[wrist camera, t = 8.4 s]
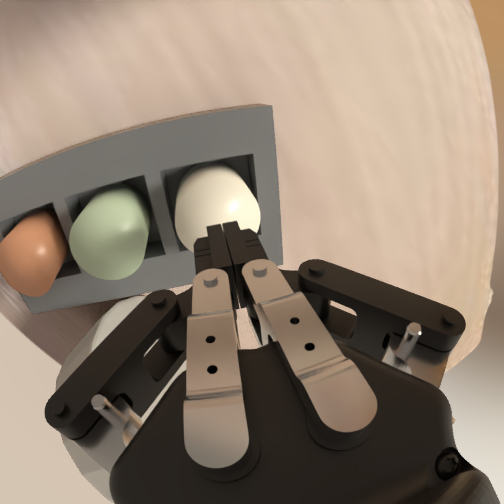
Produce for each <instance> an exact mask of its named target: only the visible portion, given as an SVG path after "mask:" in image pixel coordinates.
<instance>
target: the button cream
mask: <svg viewBox="0 0 504 504" xmlns="http://www.w3.org/2000/svg"><path fill="white" fill-rule="evenodd" d="M231 221H237V222H238V225H239V227H240V230H243V229H248V228H250V229H251V230H253V231H254V232H256V233H257V231H258V229H259V225H260V209H259V206H258V203H257V201H256V199H255V197H254V196H253V194H252V193H251V191H250V190H249V188H248V187H247V185H246V184H245V182H244V181H243V179H242V178H241V176H240V175H239V173H238V172H237V171H236V170H235V169H233V168H232V167H230V166H229V165H226V164H224V163H220V162H204V163H201V164H198V165H196V166H194V167H192V168H191V169H190V170H188V171H187V172H186V173H185V174H184V176H183V177H182V178H181V180H180V182H179V184H178V188H177V193H176V210H175V227H176V232H177V235H178V237H179V239H180V241H181V242H182V243H183V245H184V246H185V247H186V248H187V249H189V250H190V251H191V252H193V253H194V247H193V245H194V243H195V241H196V240H197V238H202V237H207V236H208V235H207V229H206V226H210V225H216V224H221V226H222V223H226V222H231ZM222 230H223V228H222Z"/></svg>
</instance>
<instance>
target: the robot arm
mask: <svg viewBox="0 0 504 504" xmlns="http://www.w3.org/2000/svg"><path fill="white" fill-rule="evenodd" d="M222 228H223V230H222ZM206 229H207V235H208V236H207V237H202V238H197V240H196V241H195V243H194V245H193V247H194V259H195V271H196V276H195V278H194V280H193V286H192V287H191V288H189V289H188V290H186V291H185V292H183V293H180V294H178V295H176V294H175V293H174V292H172V291H170V290H166V289H162V290H157V291H154V292H152V293H150V294H149V295H147V296H146V297H145V298H144V299H143V300H142V301H141V302H140V303H139V304H138V305H137V306H136V307H135V308H134V309H133V310H132V311H131V312H130V313H129V314H128V315H127V316H126V317H125V318H124V319H123V320H122V321H121V322H120V323H119V324H118V326H117V327H116V328H115V329H114V330H113V331H112V332H111V333H110V334H109V335H108V336H107V337H106V338H105V339H104V340H103V341H102V342H101V343H100V344H99V345H98V346H97V347H96V348H95V349H94V351H93V352H92V353H91V354H90V355H89V356H88V357H87V358H86V359H85V360H84V361H83V362H82V363H81V364H80V365H79V367H78V368H77V369H76V370H75V371H74V372H73V373H72V374H71V375H70V376H69V377H68V379H67V380H66V381H65V382H64V383H63V384H62V385H61V386H60V387H59V389H58V390H57V391H56V392H55V393H54V394H53V395H52V396H51V398H50V399H49V400H48V402H47V404H46V406H45V418H46V420H47V422H48V423H49V425H51V426H52V427H53V428H55V429H56V430H57V431H59V432H60V433H61V434H62V435H63V436H64V437H65V438H67V439H68V440H70V441H71V442H73V443H74V444H76V445H77V446H79V447H80V448H82V449H83V450H84V451H85V452H86V453H87V454H88V455H89V456H90V457H91V458H93V459H94V460H95V461H96V462H97V463H98V464H99V465H100V466H102V467H103V468H104V469H105V470H106V471H107V472H109V473H110V477H109V488H110V493H111V497H112V499H113V501H114V503H115V504H500V501H499V499H498V497H497V495H496V493H495V491H494V489H493V486H492V484H491V482H490V480H489V478H488V477H487V476H486V475H485V474H484V473H483V472H481V471H480V470H478V469H477V468H475V467H474V466H472V465H471V464H470V463H469V462H467V461H466V460H465V459H464V458H463V457H462V456H461V455H460V453H459V452H458V450H457V448H456V445H455V441H454V436H453V428H452V411H451V407H450V404H449V401H448V400H447V398H446V396H445V395H444V394H443V392H442V391H441V390H440V389H439V387H440V385H441V381H442V378H443V375H444V372H445V368H446V365H447V361H448V357H449V355H450V353H451V352H452V350H453V349H454V347H455V345H456V344H457V342H458V340H459V339H460V337H461V335H462V334H463V332H464V330H465V327H466V323H465V319H464V317H463V316H462V314H461V313H460V312H458V311H457V310H455V309H453V308H451V307H448V306H446V305H443V304H441V303H438V302H435V301H433V300H430V299H427V298H425V297H422V296H419V295H417V294H414V293H411V292H409V291H406V290H403V289H401V288H398V287H395V286H393V285H390V284H387V283H384V282H382V281H379V280H376V279H374V278H371V277H368V276H365V275H363V274H360V273H357V272H354V271H352V270H349V269H346V268H343V267H341V266H338V265H335V264H332V263H329V262H327V261H324V260H319V259H313V260H308V261H305V262H303V263H302V264H301V265H300V266H299V271H289V270H281V269H278V267H277V265H276V264H275V263H274V262H272V261H270V260H269V259H268V257H267V254H266V252H265V250H264V248H263V246H262V245H261V242H260V240H259V238H258V235H257V233H256V232H254V231H253V230H251V229H250V228H248V229H243V230H240V227H239V225H238V222H237V221H231V222H226V223H222V226H221V224H216V225H210V226H206ZM237 296H238V297H237ZM238 299H239V303H240V307H241V308H245V307H246V308H247V311H248V317H249V322H250V325H251V327H252V330H253V332H254V335H255V337H256V339H257V342H258V344H259V347H260V348H258V349H241V348H240V341H239V334H238V327H237V321H236V320H237V313H236V309H239V303H238ZM331 300H332V301H334V302H337V303H339V304H341V305H344V306H346V307H349V308H351V309H353V310H354V311H355V312H356V314H357V316H355V315H353V314H350V313H348V312H345V311H343V310H341V309H338V308H336V307H333V306H331V305H330V303H331ZM157 339H158V341H157V342H156V343H155V341H156V340H157ZM154 343H155V344H154ZM153 344H154V346H153V347H152V348H151V349H150V350H149V351H148V349H149V348H150V347H151V346H152V345H153ZM147 351H148V353H147V354H146V355H145V353H146V352H147ZM144 355H145V356H144ZM186 359H187V361H186V370H185V371H183V372H182V373H181V374H180V375H178V376H177V378H176V379H175V380H174V381H173V382H172V383H171V385H170V386H169V388H168V389H167V390H166V392H165V393H164V395H163V396H162V398H161V399H160V400H159V402H158V403H157V405H156V406H155V407H154V409H153V410H152V412H151V413H150V414H149V416H148V417H147V419H146V420H145V421H144V423H143V424H142V420H141V418H142V416H143V415H144V414H145V412H146V411H147V410H148V409H149V407H150V406H151V405H152V403H153V402H154V401H155V400H156V398H157V397H158V396H159V394H160V393H161V392H162V390H163V389H164V388H165V387H166V385H167V384H168V383H169V381H170V380H171V379H172V377H173V376H174V375H175V373H176V372H177V371H178V370H179V368H180V367H181V366H182V364H183V363H184V362H185V360H186Z"/></svg>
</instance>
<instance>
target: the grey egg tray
mask: <svg viewBox="0 0 504 504" xmlns="http://www.w3.org/2000/svg"><path fill="white" fill-rule="evenodd" d="M204 162H220V163H224V164H226V165H229V166H230V167H232V168H233V169H235V170H236V171H237V172H238V173H239V175H240V176H241V178H242V179H243V181H244V182H245V184H246V185H247V187H248V188H249V190H250V191H251V193H252V194H253V196H254V197H255V199H256V201H257V203H258V206H259V209H260V225H259V229H258V231H257V235H258V238H259V240H260V242H261V245H262V246H263V248H264V250H265V252H266V254H267V257H268V259H269V260H270V261H272V262H274V263H275V264H276V265H277V266H278V265H283V250H282V232H281V215H280V199H279V184H278V170H277V157H276V145H275V133H274V121H273V110H272V105H265V104H253V105H244V106H236V107H228V108H221V109H215V110H209V111H203V112H197V113H191V114H186V115H181V116H176V117H171V118H167V119H162V120H158V121H154V122H150V123H146V124H142V125H138V126H134V127H130V128H127V129H123V130H120V131H116V132H113V133H109V134H106V135H103V136H100V137H97V138H94V139H91V140H88V141H85V142H82V143H79V144H76V145H74V146H71V147H68V148H65V149H63V150H60V151H58V152H55V153H53V154H50V155H48V156H45V157H43V158H41V159H38V160H36V161H34V162H31V163H29V164H27V165H25V166H23V167H21V168H18V169H16V170H14V171H12V172H10V173H8V174H6V175H4V176H2V177H0V243H1V242H2V241H3V240H4V238H5V237H6V236H7V235H8V234H9V233H10V232H11V231H12V230H13V229H14V227H15V226H16V225H17V224H18V223H19V222H20V221H21V220H22V219H23V218H24V217H25V216H26V215H27V214H28V213H29V212H30V211H32V210H34V209H37V208H46V209H49V210H52V211H54V212H55V213H57V216H58V218H59V221H60V224H61V226H62V229H63V231H64V234H65V236H66V239H67V241H68V243H69V236H70V231H71V228H72V226H73V224H74V222H75V221H76V219H77V218H78V216H79V215H80V214H81V212H82V211H83V210H84V208H85V207H86V206H87V204H88V203H89V202H90V200H91V199H92V198H93V196H94V195H95V194H96V193H97V192H98V191H99V190H100V189H101V188H103V187H105V186H107V185H110V184H117V183H119V184H126V185H130V186H132V187H134V188H136V189H137V190H139V191H140V192H141V193H142V194H143V195H144V196H145V198H146V199H147V201H148V203H149V205H150V208H151V213H152V219H151V225H150V229H149V234H148V239H147V244H146V250H145V255H144V259H143V261H142V263H141V265H140V267H139V268H138V269H137V270H136V271H135V272H134V273H133V274H131V275H130V276H128V277H125V278H123V279H119V280H104V279H100V278H97V277H95V276H92V275H91V274H89V273H87V272H86V271H85V270H83V269H82V268H81V267H80V266H79V264H78V263H77V262H76V260H75V259H74V257H73V255H72V252H71V249H70V251H69V254H68V255H67V257H66V259H65V261H64V263H63V264H62V266H61V268H60V270H59V272H58V274H57V276H56V278H55V280H54V282H53V284H52V286H51V288H50V289H49V291H48V292H47V293H45V294H44V295H42V296H38V297H31V296H26V295H24V294H21V293H20V292H19V294H20V295H21V297H22V299H23V300H24V302H25V303H26V305H27V307H28V308H29V310H30V311H31V313H32V314H36V313H42V312H48V311H53V310H59V309H65V308H70V307H76V306H81V305H87V304H92V303H97V302H103V301H108V300H113V299H119V298H124V297H129V296H134V295H139V294H144V293H149V292H154V291H157V290H162V289H169V288H174V287H179V286H184V285H189V284H193V280H194V278H195V276H196V271H195V259H194V253H193V252H191V251H190V250H189V249H187V248H186V247H185V246H184V245H183V243H182V242H181V241H180V239H179V237H178V235H177V232H176V227H175V210H176V193H177V188H178V184H179V182H180V180H181V178H182V177H183V176H184V174H185V173H186V172H187V171H188V170H190V169H191V168H192V167H194V166H196V165H198V164H201V163H204ZM69 246H70V244H69Z"/></svg>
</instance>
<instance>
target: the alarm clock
mask: <svg viewBox="0 0 504 504" xmlns="http://www.w3.org/2000/svg"><path fill="white" fill-rule="evenodd" d="M145 297H146V296H134V297H131V298H128V299H125V300H122V301H119V302H116V303H115V304H114V305H113V306H112V307H111V308H110V309H109V310H108V311H107V312H106V313H105V314H104V315H103V316H102V317H101V318H100V319H99V320H98V321H97V322H96V323H95V324H94V325H93V327H92V328H91V329H90V330H89V331H88V332H87V333H86V334H85V336H84V337H83V338H82V339H81V340H80V341H79V343H78V344H77V345H76V346H75V347H74V348H73V350H72V351H71V352H70V353H69V354H68V356H67V357H66V358H65V361H64V363H63V365H62V368H61V370H60V373H59V375H58V378H57V381H56V391H57V390H58V389H59V387H60V386H61V385H62V384H63V383H64V382H65V381H66V380H67V379H68V377H69V376H70V375H71V374H72V373H73V372H74V371H75V370H76V369H77V368H78V367H79V365H80V364H81V363H82V362H83V361H84V360H85V359H86V358H87V357H88V356H89V355H90V354H91V353H92V352H93V351H94V349H95V348H96V347H97V346H98V345H99V344H100V343H101V342H102V341H103V340H104V339H105V338H106V337H107V336H108V335H109V334H110V333H111V332H112V331H113V330H114V329H115V328H116V327H117V326H118V324H119V323H120V322H121V321H122V320H123V319H124V318H125V317H126V316H127V315H128V314H129V313H130V312H131V311H132V310H133V309H134V308H135V307H136V306H137V305H138V304H139V303H140V302H141V301H142V300H143V299H144V298H145ZM157 341H158V339H157V340H156V341H155V343H156V342H157ZM155 343H154V344H155ZM154 344H153V345H152V346H151V347H150V348H149V349H148V351H149V350H150V349H151V348H152V347H153V346H154ZM148 351H147V352H146V353H145V355H146V354H147V353H148ZM145 355H144V356H145ZM186 361H187V359H186V360H185V362H184V363H183V364H182V366H181V367H180V368H179V370H178V371H177V372H176V373H175V375H174V376H173V377H172V379H171V380H170V381H169V383H168V384H167V385H166V387H165V388H164V389H163V390H162V392H161V393H160V394H159V396H158V397H157V398H156V400H155V401H154V402H153V403H152V405H151V406H150V407H149V409H148V410H147V411H146V412H145V414H144V415H143V416H142V418H141V420H142V424H143V423H144V421H145V420H146V419H147V417H148V416H149V414H150V413H151V412H152V410H153V409H154V407H155V406H156V405H157V403H158V402H159V400H160V399H161V398H162V396H163V395H164V393H165V392H166V390H167V389H168V388H169V386H170V385H171V383H172V382H173V381H174V380H175V379H176V378H177V376H178V375H180V374H181V373H182V372H183V371H185V370H186ZM61 437H62V440H63V443H64V445H65V447H66V449H67V451H68V452H69V454H70V456H71V458H72V459H73V461H74V462H75V464H76V466H77V468H78V469H79V471H80V472H81V474H82V475H83V476H84V477H85V478H86V479H87V480H88V481H89V482H90V483H91V484H92V485H93V486H94V487H95V488H96V489H97V490H98V491H99V492H100V493H101V494H102V495H103V496H104V497H106V498H107V499H108V500H109V501H111V502H113V503H114V501H113V499H112V497H111V493H110V488H109V477H110V473H109V472H107V471H106V470H105V469H104V468H103V467H102V466H100V465H99V464H98V463H97V462H96V461H95V460H94V459H93V458H91V457H90V456H89V455H88V454H87V453H86V452H85V451H84V450H83V449H82V448H80V447H79V446H77V445H76V444H74V443H73V442H71V441H70V440H68V439H67V438H65V437H64V436H63V435H62V434H61ZM114 504H115V503H114Z"/></svg>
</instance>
